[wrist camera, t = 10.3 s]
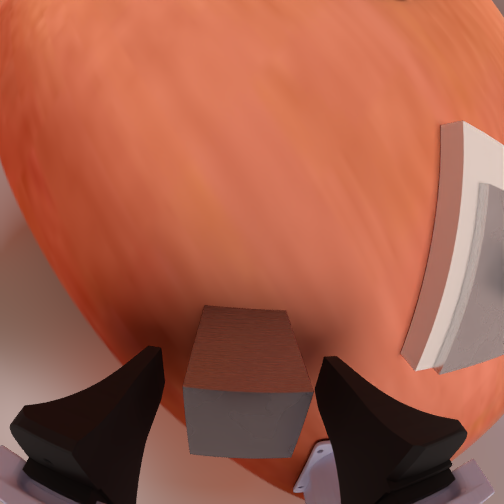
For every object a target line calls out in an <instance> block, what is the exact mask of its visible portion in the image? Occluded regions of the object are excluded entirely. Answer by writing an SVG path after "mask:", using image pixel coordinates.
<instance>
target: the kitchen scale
mask: <svg viewBox="0 0 504 504" xmlns="http://www.w3.org/2000/svg"><path fill="white" fill-rule="evenodd" d="M400 354H401V355H402V356H403V357H404V358H405V360H406V361H407V362H408V363H409V364H410V366H411V367H412V368H413V369H414V370H415V371H418V370H424V369H429V368H433V369H434V370H435V371H436V372H437V373H438V374H439V375H440V374H444V373H448V372H452V371H455V370H459V369H462V368H466V367H469V366H472V365H475V364H478V363H481V362H484V361H487V360H490V359H493V358H496V357H499V356H501V355H504V145H503V144H501V143H500V142H498V141H497V140H495V139H493V138H492V137H490V136H489V135H487V134H485V133H484V132H482V131H480V130H479V129H477V128H475V127H474V126H472V125H470V124H468V123H466V122H465V121H458V122H453V123H449V124H444V125H441V159H440V178H439V191H438V201H437V209H436V217H435V224H434V231H433V237H432V242H431V248H430V253H429V258H428V263H427V267H426V272H425V276H424V280H423V284H422V288H421V292H420V295H419V299H418V303H417V306H416V309H415V313H414V316H413V319H412V322H411V325H410V328H409V331H408V334H407V337H406V340H405V343H404V345H403V348H402V351H401V353H400Z"/></svg>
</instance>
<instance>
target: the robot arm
mask: <svg viewBox="0 0 504 504" xmlns="http://www.w3.org/2000/svg"><path fill="white" fill-rule="evenodd" d="M164 384H165V378H164V369H163V360H162V350H161V348H160V347H153V346H147V347H146V348H145V349H144V350H142V351H141V352H140V353H139V354H137V355H136V356H135V357H134V358H133V359H131V360H130V361H129V362H128V363H126V364H125V365H124V366H122V367H121V368H120V369H118V370H117V371H116V372H114V373H113V374H111V375H110V376H108V377H107V378H105V379H103V380H102V381H100V382H98V383H97V384H95V385H93V386H91V387H89V388H87V389H85V390H82V391H80V392H78V393H75V394H73V395H70V396H67V397H64V398H61V399H58V400H54V401H50V402H46V403H40V404H33V405H25V406H24V407H23V408H22V410H21V411H20V412H19V414H18V415H17V416H16V418H15V419H14V420H13V422H12V423H11V424H10V430H11V433H12V435H13V437H14V438H15V440H16V441H17V442H18V444H19V445H20V446H21V448H22V449H23V450H24V452H25V453H26V454H27V455H28V456H29V459H28V460H27V462H26V461H25V460H23V459H22V458H21V457H20V456H18V455H17V454H15V453H14V452H12V451H11V450H9V449H8V448H6V447H5V446H3V445H1V446H0V501H1V502H3V503H4V504H136V497H137V488H138V481H139V474H140V468H141V462H142V457H143V452H144V448H145V443H146V440H147V436H148V434H149V431H150V428H151V426H152V423H153V420H154V418H155V415H156V412H157V409H158V407H159V404H160V401H161V398H162V393H163V389H164ZM315 394H316V399H317V404H318V408H319V411H320V414H321V417H322V420H323V423H324V426H325V428H326V431H327V434H328V437H329V440H328V441H321V442H318V443H317V444H316V445H315V446H314V448H313V450H312V453H311V455H310V457H309V459H308V461H307V463H306V465H305V467H304V469H303V471H302V473H301V475H300V477H299V479H298V481H297V483H296V484H295V486H294V488H293V492H295V493H298V492H304V497H305V503H306V504H482V503H483V502H484V501H485V500H487V499H488V498H489V497H490V496H492V495H493V494H494V492H495V490H494V489H493V487H492V486H491V484H490V482H489V481H488V480H487V478H486V476H485V475H484V473H483V472H482V470H481V469H480V467H479V466H478V464H477V463H476V461H475V460H474V459H472V460H470V461H468V462H467V463H465V464H463V465H461V466H460V467H458V468H457V469H455V470H454V471H452V472H451V470H450V469H449V468H450V467H451V466H452V463H451V461H450V458H451V457H452V456H453V455H454V454H455V452H456V451H457V450H458V449H459V448H460V447H461V445H462V444H463V443H464V441H465V439H466V437H467V431H466V430H465V429H464V427H463V426H462V425H461V423H460V422H459V421H458V420H455V419H450V418H444V417H439V416H435V415H432V414H429V413H425V412H422V411H420V410H417V409H414V408H412V407H410V406H407V405H405V404H403V403H401V402H399V401H397V400H395V399H394V398H392V397H390V396H388V395H387V394H385V393H383V392H382V391H380V390H379V389H377V388H376V387H375V386H373V385H372V384H370V383H369V382H368V381H366V380H365V379H364V378H363V377H361V376H360V375H359V374H358V373H356V372H355V371H354V370H353V369H352V368H350V367H349V366H348V365H347V364H346V363H344V362H343V361H342V360H341V359H339V358H338V357H337V356H331V357H324V359H323V363H322V366H321V370H320V373H319V377H318V380H317V383H316V387H315Z"/></svg>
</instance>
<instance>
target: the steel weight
mask: <svg viewBox="0 0 504 504" xmlns="http://www.w3.org/2000/svg"><path fill="white" fill-rule="evenodd" d="M313 393H314V391H313V388H312V385H311V382H310V379H309V376H308V373H307V370H306V367H305V365H304V362H303V359H302V356H301V353H300V350H299V347H298V344H297V341H296V338H295V335H294V333H293V330H292V327H291V324H290V321H289V318H288V315H287V312H286V311H282V310H262V309H246V308H231V307H218V306H207V305H205V307H204V310H203V313H202V317H201V321H200V324H199V328H198V331H197V335H196V338H195V342H194V346H193V349H192V353H191V357H190V360H189V364H188V368H187V372H186V376H185V379H184V383H183V397H184V408H185V417H186V426H187V435H188V442H189V450H190V454H194V455H204V456H214V457H228V458H288V457H291V456H292V454H293V451H294V449H295V446H296V443H297V440H298V438H299V435H300V432H301V429H302V426H303V424H304V421H305V418H306V415H307V412H308V409H309V405H310V402H311V399H312V396H313Z"/></svg>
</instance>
